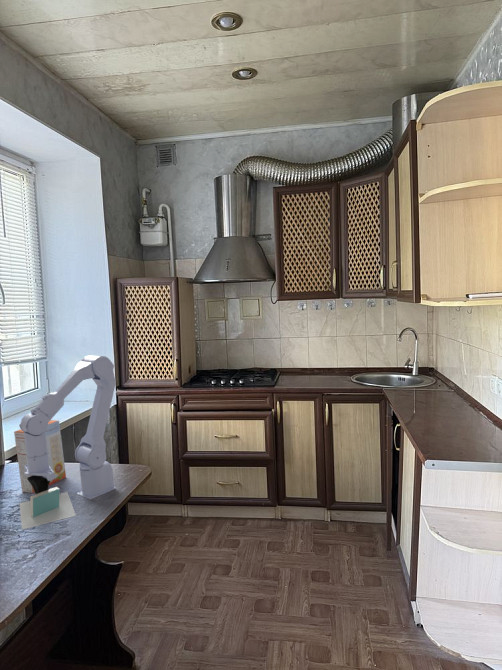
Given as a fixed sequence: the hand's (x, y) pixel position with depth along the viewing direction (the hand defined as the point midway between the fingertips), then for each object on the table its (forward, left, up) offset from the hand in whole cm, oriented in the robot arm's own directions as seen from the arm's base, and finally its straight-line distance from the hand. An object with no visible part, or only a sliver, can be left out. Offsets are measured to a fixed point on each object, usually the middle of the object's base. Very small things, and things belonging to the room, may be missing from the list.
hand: (42, 498), depth 142 cm
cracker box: (-11, -20, -4) cm, 23 cm away
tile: (0, +1, -3) cm, 4 cm away
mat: (-1, 0, -4) cm, 4 cm away
